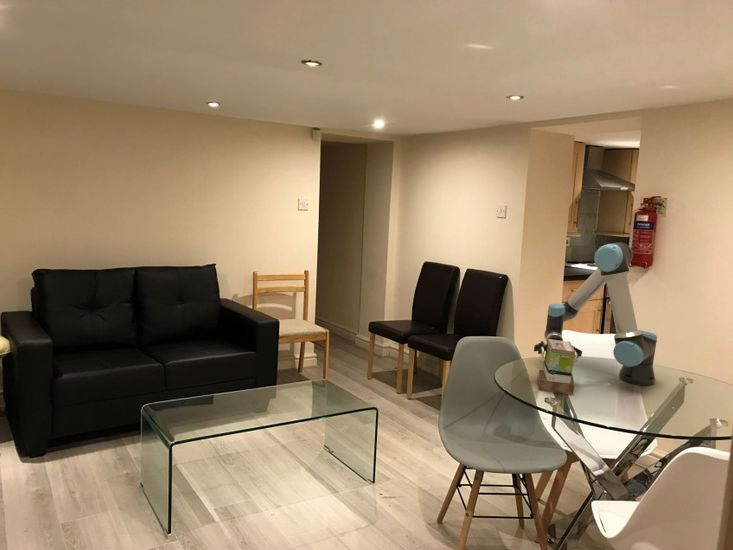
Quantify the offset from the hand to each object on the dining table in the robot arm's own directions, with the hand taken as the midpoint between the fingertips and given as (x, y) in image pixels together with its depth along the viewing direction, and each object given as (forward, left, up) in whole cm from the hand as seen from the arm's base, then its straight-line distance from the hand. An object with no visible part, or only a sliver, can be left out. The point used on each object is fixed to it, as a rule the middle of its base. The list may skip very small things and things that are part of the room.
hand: (559, 356), depth 254 cm
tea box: (0, -2, -10) cm, 10 cm away
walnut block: (0, -2, -15) cm, 15 cm away
